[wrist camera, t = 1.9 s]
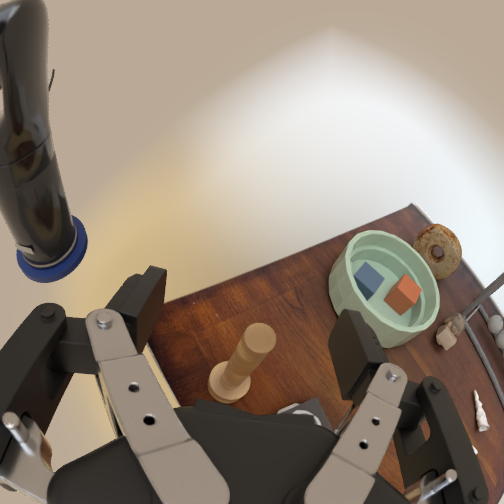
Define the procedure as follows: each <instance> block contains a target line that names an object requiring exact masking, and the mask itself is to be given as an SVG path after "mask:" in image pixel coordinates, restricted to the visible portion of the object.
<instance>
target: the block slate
mask: <svg viewBox="0 0 504 504" xmlns="http://www.w3.org/2000/svg"><path fill="white" fill-rule="evenodd" d="M354 279H355V281H356V284H357V287H358V289H359V290H360V292H361V293H362V295H363V296H364V297H365V299H366V300H367V301H368V300H369V299H370V298H371V297H372V296H373V295H374V294H375V292H376V291H377V289H378V288H379V287H380V285H381V284H382V282H383V281H384V279H385V278H384V277H383V276H382V275H381V274H379V273H378V272H377V271H376V270H375V269H374V268H373V267H372V266H370V265H369V264H368V263H367V262H366V261H365V262H364V264H363V265H362V266H361V267H360V268H359V270H358V271H357V272H356V273H355V274H354Z"/></svg>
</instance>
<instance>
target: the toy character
mask: <svg viewBox="0 0 504 504" xmlns="http://www.w3.org/2000/svg"><path fill="white" fill-rule="evenodd" d="M443 323H445V324H446V325H442V326H440V327H439V328H438V331H437V334H436V341H437V343H438V344H439V345H442V346H443V348H444V349H445V350H446V351H447V350H448V349H449V348H450V347H452V346H453V345H454V344H455V343H456V337H457V336H458V335H460V333H461V332H462V331H463V330H464V329H465V327H466V322H465V320H464V318H463V316H462V315H461V314H460V313H454V314H452V315H451V317H448V318H447V319H445V320H444V322H443Z"/></svg>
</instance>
